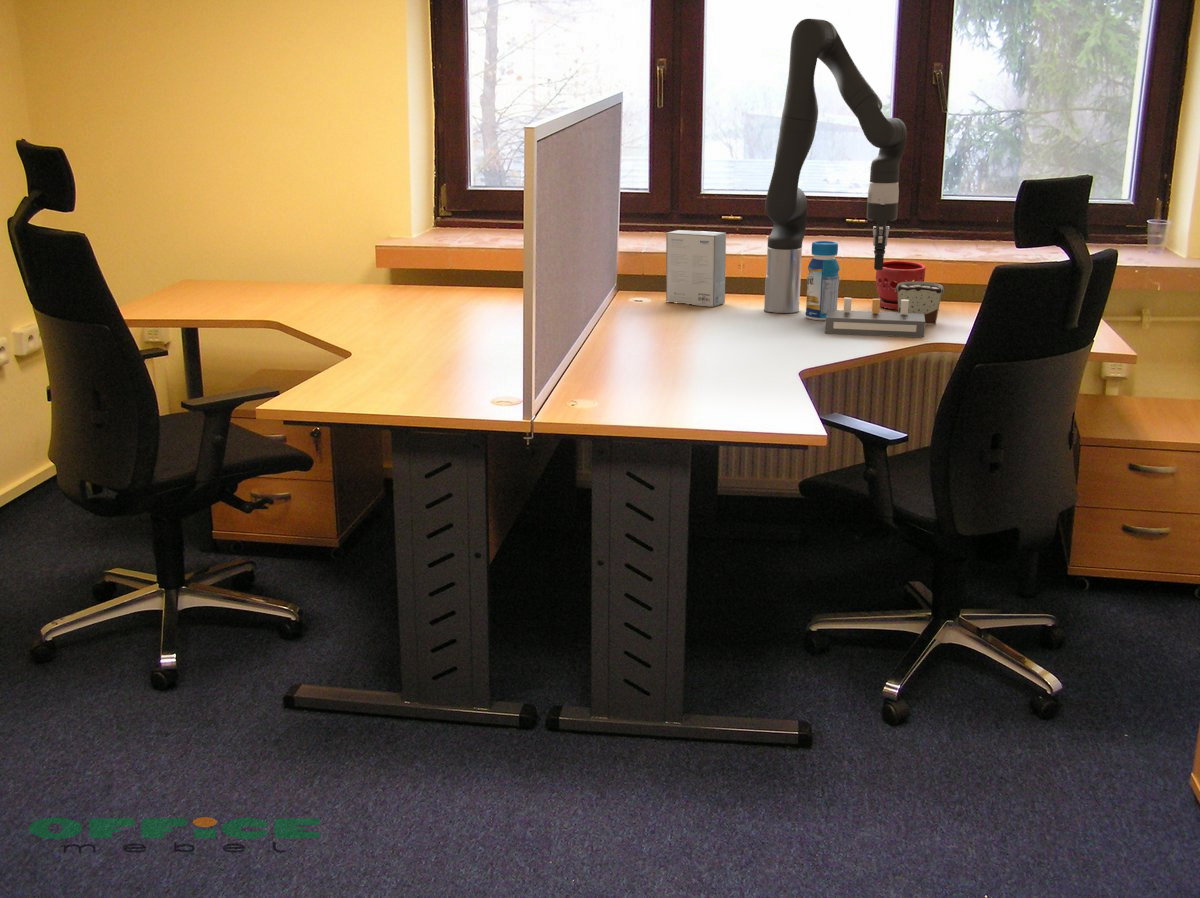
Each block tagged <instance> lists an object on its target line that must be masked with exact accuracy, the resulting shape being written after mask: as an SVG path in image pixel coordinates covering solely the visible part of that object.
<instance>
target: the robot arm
mask: <svg viewBox="0 0 1200 898" xmlns="http://www.w3.org/2000/svg"><path fill="white" fill-rule="evenodd" d="M818 60H820V62H821V63H823V64H824V65H825V66H826V67H827V68H828V69H829V71H830V72H831V74H832V75H833V77H834V79H835V82H836V85H837V88H838V91H839V93H840V95H841V98H842V99H843V101H844V102H845V104H846V105H847V107H848V108H849V109H850V111H851V112H852V113H853V114H854V116H855V117H856V118H857V121H858V122H859V125H860V127H861V130H862V132H863V134H864V137H865V138H866V140H867V142H869V143H870V144H871V145H872V146H873V147H875V148H878V149H879V150H878V155H877V156H876V157H875V158H874V159H873V160H871V164H870V169H869V170H870V171H869V172H870V174H869V184H868V185H869V186H868V190H867V191H868V192H867V204H866V219H867V220H868V221H874V222H876V226H873V227H872V235H873V240H872V243H873V244H872V245H873V247H874V250H873V254H874V263H873V264H874V265H873V268H874V270H875V271H876V270H882V269H883V262H884V258H885V257H884V256H885V254H886V247H887V246H888V236H889V233H890V226H887V222H892V221H896V220H897V219H898V210H899V209H898V207H899V195H900V189H899V181H900V180H899V179H900V163H901V161H902V159H903V155H904V152H905V147H906V144H907V136H908V132H907V127H906V124H905V123H904V121H903V120H901V119H900V118H898V117H897V118H896V117H888V118H887V117H886V116H885V115H884V113H883V111H882V108H883V102H882V100H881V98H880V97H879V95H878V93H877V92H876V91H875V90H874V89H873V88H872V86H871V85H870V84H869V82H868V81H867V80H866V79H865V77H864V76H863V74H862V72H861V71H860V69H858V66H856V64H855V61H853V58H852V57H851V55H850V53H849V52H848V49H847V48H846V46H845V44H844V42H843V40H842V38H841V36H840V34H839V32H838V31H837V29H836V27H835V26H834V25H833V23H832V22H830V21H828V20H825V19H817V18H805V19H801V20H800V21H799V22H798V23H797V24H796V25H795V27H794V29H793V30H792V35H791V38H790V50H789V65H788V77H787V85H786V89H785V95H784V96H785V98H784V103H783V108H782V114H781V119H780V125H779V126H780V127H779V132H778V139H777V146H776V152H775V159H774V164H773V165H774V166H773V171H772V174H771V179H770V183H769V186H768V189H767V193H766V197H765V202H764V203H765V205H764V209H765V210H764V211H765V213H766V215H767V218H769V219H770V221H772V222H773V227H772V229H771V233H770V234H769V236H768V238H767V251H766V252H767V254H766V255H767V257H766V276H765V280H764V281H765V283H764V301H763V302H764V304H763V305H764V307H763V309H764V310H763V312H770V313H775V314H776V313H777V314H792V313H797V312H799V310H800V297H801V296H800V295H801V280H802V279H801V276H802V257H803V256H802V254H803V253H802V252H803V240H804V238H805V236H806V235H805V234H806V230H807V229H806V228H807V217H808V216H807V215H808V201H807V197H806V194H805V192H804V191H803V190H802V189H801V188H800V187H799V181H800V176H801V170H802V168H803V166H804V163H805V161H806V159H807V156H808V155H809V152H810V150H811V147H812V145H813V142H814V139H815V135H816V132H817V131H816V130H817V125H818V119H819V105H818V99H817V95H816V94H817V93H816V88H815V74H816V68H817V62H818Z"/></svg>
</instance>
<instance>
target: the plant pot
mask: <svg viewBox="0 0 1200 898" xmlns="http://www.w3.org/2000/svg"><path fill="white" fill-rule="evenodd" d="M926 268H927V267H926V266H925V265H924V264H923V263H919V262H914V261H907V260H888V261H887V260H886V261H883V269H882V270H875V283H876V284H875V285H876V291H877V294H878V297H877V298H876V299H880V308H883V307H884V308H883V309H886V308H888V309H887V310H893V309H895V310H894V311H898V291H896V292H895V290H896V286H897V285H898V284H899V283H902V282H925V277H926Z"/></svg>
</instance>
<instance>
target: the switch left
mask: <svg viewBox="0 0 1200 898" xmlns="http://www.w3.org/2000/svg"><path fill="white" fill-rule="evenodd" d="M843 298H844V299H843V310H844V312H851V311H852V300H853V298H852V297H843Z"/></svg>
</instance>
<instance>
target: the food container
mask: <svg viewBox="0 0 1200 898" xmlns="http://www.w3.org/2000/svg"><path fill="white" fill-rule="evenodd" d="M896 291H898V310H897V313H900V311H901V300H909V305H908V313H921V314H924V316H925V325H933V326H934V325H936V324H937V319H938V315H939V314H938V313H939V309H940V304H941V299H942V294H943V295H945V290H944V286H943V284H940V283H937V282H929V281H924V282H914V281H912V282H902V283H899V284H898V285H897V286H896V290H895V292H896Z"/></svg>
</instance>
